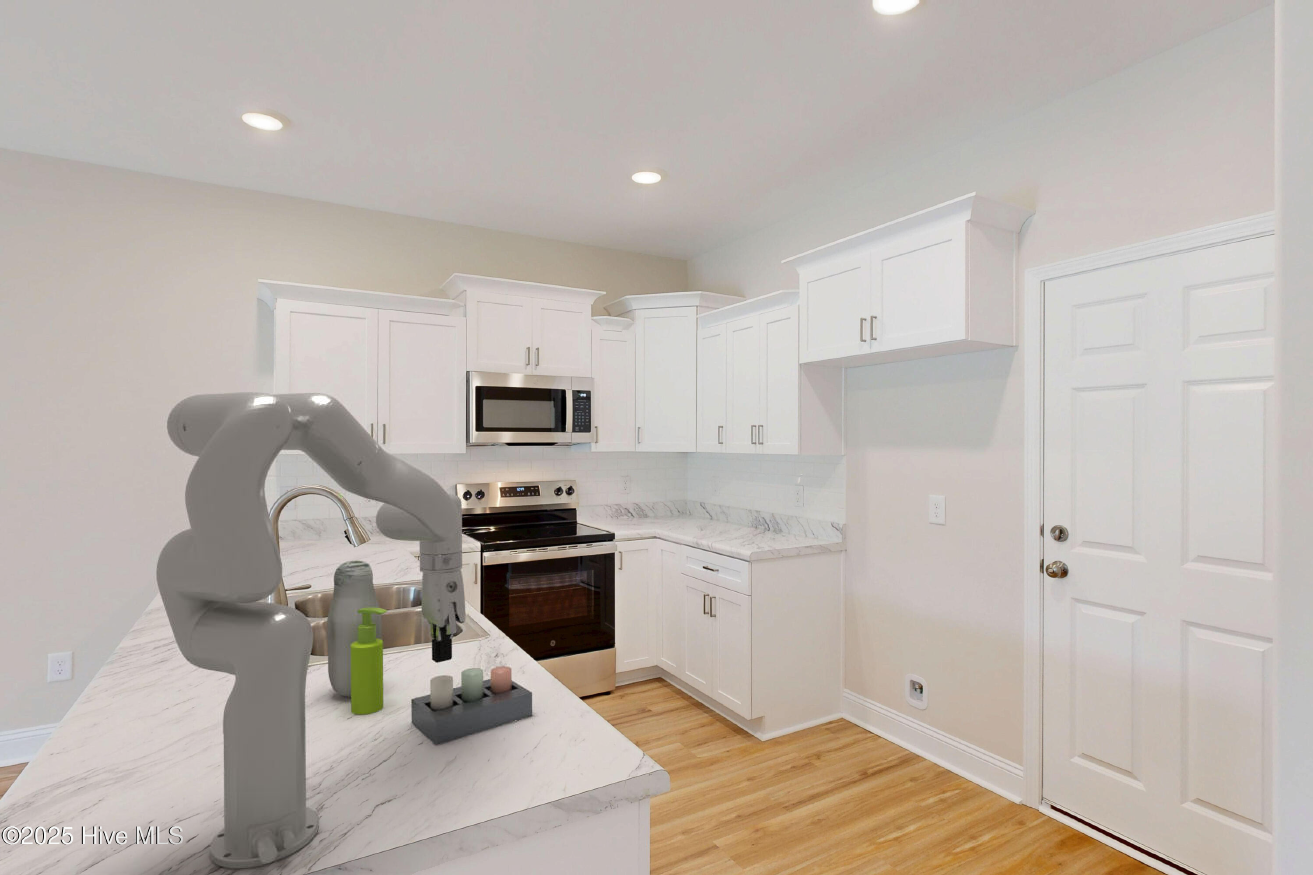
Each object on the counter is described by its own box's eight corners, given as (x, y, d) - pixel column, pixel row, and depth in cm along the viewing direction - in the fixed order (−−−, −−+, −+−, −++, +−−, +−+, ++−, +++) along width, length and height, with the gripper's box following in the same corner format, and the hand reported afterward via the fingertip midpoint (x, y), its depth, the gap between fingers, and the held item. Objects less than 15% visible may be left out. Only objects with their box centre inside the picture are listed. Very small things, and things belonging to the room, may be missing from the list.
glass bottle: (352, 682, 147) (351, 555, 146) (391, 688, 143) (390, 558, 143) (317, 700, 137) (316, 564, 137) (357, 705, 134) (356, 566, 134)
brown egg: (515, 695, 131) (515, 670, 131) (496, 700, 128) (496, 675, 128) (505, 689, 134) (505, 664, 134) (487, 694, 132) (487, 669, 132)
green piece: (486, 698, 127) (486, 672, 127) (466, 703, 125) (466, 677, 125) (477, 692, 130) (477, 666, 130) (458, 697, 128) (457, 671, 128)
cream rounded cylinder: (456, 706, 123) (456, 679, 123) (435, 712, 121) (435, 684, 121) (448, 700, 126) (447, 673, 126) (427, 705, 124) (426, 678, 124)
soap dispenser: (376, 716, 129) (375, 613, 129) (344, 713, 130) (343, 611, 130) (394, 704, 135) (393, 605, 135) (363, 701, 136) (362, 603, 136)
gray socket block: (532, 715, 129) (532, 692, 129) (435, 745, 117) (435, 719, 117) (503, 697, 138) (503, 675, 138) (411, 722, 126) (411, 699, 126)
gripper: (477, 564, 120) (478, 666, 120) (444, 553, 132) (445, 646, 132) (436, 570, 115) (437, 676, 116) (406, 558, 127) (407, 654, 127)
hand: (442, 659), depth 124 cm, fingers closed
